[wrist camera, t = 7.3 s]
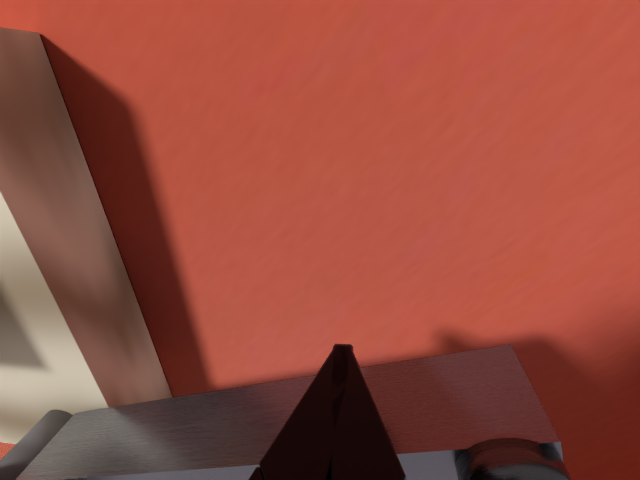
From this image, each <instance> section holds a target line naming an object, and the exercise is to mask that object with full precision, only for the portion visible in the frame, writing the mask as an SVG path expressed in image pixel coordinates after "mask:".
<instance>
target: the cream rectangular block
mask: <svg viewBox="0 0 640 480" xmlns="http://www.w3.org/2000/svg"><path fill="white" fill-rule="evenodd" d="M166 398H173V397H172V394H171V392H170V389H169V386H168V383H167V381H166V378H165V375H164V373H163V370H162V367H161V364H160V362H159V359H158V356H157V354H156V351H155V348H154V345H153V343H152V340H151V337H150V334H149V332H148V329H147V326H146V324H145V321H144V318H143V315H142V313H141V310H140V307H139V304H138V302H137V299H136V296H135V294H134V291H133V288H132V285H131V283H130V280H129V277H128V275H127V272H126V269H125V266H124V264H123V261H122V258H121V255H120V253H119V250H118V247H117V245H116V242H115V239H114V236H113V234H112V231H111V228H110V225H109V223H108V220H107V217H106V215H105V212H104V209H103V206H102V204H101V201H100V198H99V196H98V193H97V190H96V187H95V185H94V182H93V179H92V176H91V174H90V171H89V168H88V166H87V163H86V160H85V157H84V155H83V152H82V149H81V147H80V144H79V141H78V138H77V136H76V133H75V130H74V127H73V125H72V122H71V119H70V117H69V114H68V111H67V108H66V106H65V103H64V100H63V97H62V95H61V92H60V89H59V87H58V84H57V81H56V78H55V76H54V73H53V70H52V68H51V65H50V62H49V59H48V57H47V54H46V51H45V48H44V46H43V43H42V40H41V38H40V35H39V33H37V32H30V31H23V30H16V29H8V28H1V27H0V442H3V443H11V444H16V445H15V446H14V447H13V448H12V449H11V450H10V451H9V452H8V453H7V454H6V455H5V456H4V457H3V458H2V459H1V460H0V480H16V478H17V477H18V476H19V475H20V474H21V473H22V472H23V471H24V470H25V468H26V467H27V466H28V465H29V464H30V463H31V462H32V461H33V460H34V458H35V457H36V456H37V455H38V454H39V453H40V452H41V451H42V449H43V448H44V447H45V446H46V445H47V444H48V443H49V442H50V441H51V439H52V438H53V437H54V436H55V435H56V434H57V433H58V432H59V431H60V429H61V428H62V427H63V426H64V425H65V424H66V423H67V422H68V420H69V419H70V418H71V417H72V416H73V415H74V414H75V413H78V412H84V411H90V410H97V409H103V408H109V407H116V406H122V405H128V404H135V403H141V402H147V401H154V400H160V399H166Z"/></svg>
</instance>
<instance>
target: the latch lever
mask: <svg viewBox="0 0 640 480" xmlns="http://www.w3.org/2000/svg"><path fill="white" fill-rule="evenodd" d="M360 369H361V372H362V374H363V376H364V379H365V381H366V383H367V386H368V388H369V390H370V393H371V395H372V397H373V400H374V402H375V404H376V407H377V409H378V412H379V414H380V416H381V419H382V421H383V423H384V426H385V428H386V430H387V433H388V435H389V437H390V440H391V442H392V444H393V447H394V449H395V451H396V454H397V456H398V459H399V461H400V463H401V466H402V468H403V470H404V473H405V475H406V480H572V479H571V477H570V475H569V473H568V471H567V469H566V467H565V465H564V462H563V454H562V447H561V441H560V439H559V437H558V435H557V433H556V431H555V430H554V428H553V426H552V424H551V422H550V420H549V418H548V416H547V414H546V412H545V410H544V408H543V406H542V404H541V402H540V400H539V398H538V396H537V394H536V393H535V391H534V389H533V387H532V385H531V383H530V381H529V379H528V377H527V375H526V373H525V371H524V369H523V367H522V365H521V363H520V361H519V359H518V357H517V355H516V354H515V352H514V350H513V348H512V346H511V344H509V345H503V346H497V347H490V348H484V349H478V350H471V351H465V352H459V353H452V354H446V355H440V356H433V357H427V358H420V359H414V360H408V361H401V362H395V363H389V364H382V365H376V366H370V367H363V368H360ZM315 376H316V375H313V376H306V377H300V378H293V379H287V380H281V381H274V382H268V383H262V384H255V385H249V386H243V387H236V388H230V389H224V390H217V391H211V392H205V393H198V394H192V395H185V396H179V397H173V398H166V399H160V400H154V401H147V402H141V403H135V404H128V405H122V406H116V407H109V408H103V409H97V410H90V411H84V412H78V413H75V414H74V415H73V416H72V417H71V418H70V419H69V420H68V422H67V423H66V424H65V425H64V426H63V427H62V428H61V429H60V431H59V432H58V433H57V434H56V435H55V436H54V437H53V438H52V439H51V441H50V442H49V443H48V444H47V445H46V446H45V447H44V448H43V449H42V451H41V452H40V453H39V454H38V455H37V456H36V457H35V458H34V460H33V461H32V462H31V463H30V464H29V465H28V466H27V467H26V468H25V470H24V471H23V472H22V473H21V474H20V475H19V476H18V477H17V478H16V480H248V479H249V478H250V476H251V475H252V473H253V472H254V470H255V468H256V467H259V463H260V461H261V460H262V458H263V456H264V455H265V453H266V452H267V450H268V449H269V447H270V446H271V444H272V443H273V441H274V439H275V438H276V436H277V435H278V433H279V432H280V430H281V429H282V427H283V426H284V424H285V422H286V421H287V419H288V418H289V416H290V415H291V413H292V412H293V410H294V409H295V407H296V406H297V404H298V402H299V401H300V399H301V398H302V396H303V395H304V393H305V392H306V390H307V389H308V387H309V385H310V384H311V382H312V381H313V379H314V378H315Z"/></svg>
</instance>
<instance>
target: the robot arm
mask: <svg viewBox="0 0 640 480" xmlns="http://www.w3.org/2000/svg"><path fill="white" fill-rule="evenodd" d="M248 480H406V475H405V473H404V470H403V468H402V466H401V463H400V461H399V459H398V456H397V454H396V451H395V449H394V447H393V444H392V442H391V440H390V437H389V435H388V433H387V430H386V428H385V426H384V423H383V421H382V419H381V416H380V414H379V412H378V409H377V407H376V404H375V402H374V400H373V397H372V395H371V393H370V390H369V388H368V386H367V383H366V381H365V379H364V376H363V374H362V372H361V369H360V367H359V365H358V362H357V360H356V358H355V355H354V353H353V346H352V345H350V344H335V345H334V346H333V350H332V352H331V353H330V355H329V356H328V358H327V359H326V361H325V362H324V364H323V365H322V367H321V368H320V370H319V372H318V373H317V375H316V376H315V378H314V379H313V381H312V382H311V384H310V385H309V387H308V389H307V390H306V392H305V393H304V395H303V396H302V398H301V399H300V401H299V402H298V404H297V406H296V407H295V409H294V410H293V412H292V413H291V415H290V416H289V418H288V419H287V421H286V422H285V424H284V426H283V427H282V429H281V430H280V432H279V433H278V435H277V436H276V438H275V439H274V441H273V443H272V444H271V446H270V447H269V449H268V450H267V452H266V453H265V455H264V456H263V458H262V460H261V461H260V463H259V467H256V468H255V470H254V472H253V473H252V475H251V476H250V478H249V479H248Z"/></svg>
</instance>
